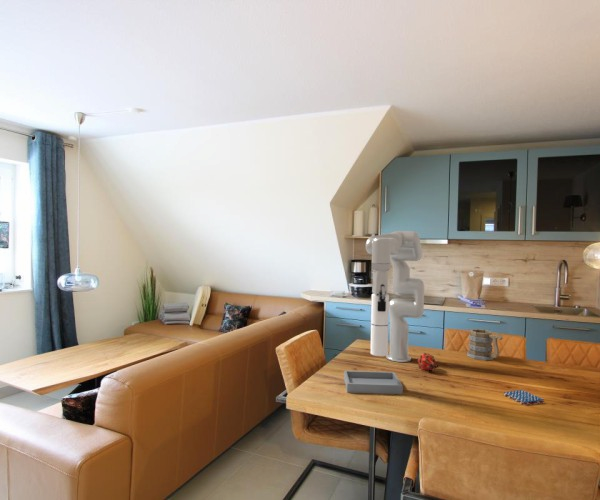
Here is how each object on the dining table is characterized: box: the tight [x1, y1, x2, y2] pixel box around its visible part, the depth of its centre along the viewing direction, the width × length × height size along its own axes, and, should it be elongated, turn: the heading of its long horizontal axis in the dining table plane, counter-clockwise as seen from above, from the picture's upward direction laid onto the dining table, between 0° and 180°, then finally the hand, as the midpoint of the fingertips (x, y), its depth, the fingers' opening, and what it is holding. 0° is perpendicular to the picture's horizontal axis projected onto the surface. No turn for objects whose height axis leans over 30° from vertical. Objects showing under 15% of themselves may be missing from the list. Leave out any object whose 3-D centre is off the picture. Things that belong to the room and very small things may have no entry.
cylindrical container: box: [370, 293, 390, 357], centre depth 161 cm, size 7×7×25 cm
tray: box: [343, 370, 404, 395], centre depth 162 cm, size 16×22×4 cm
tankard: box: [466, 328, 504, 361], centre depth 204 cm, size 20×13×15 cm, turn 17°
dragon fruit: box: [417, 352, 440, 373], centre depth 183 cm, size 8×8×12 cm
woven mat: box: [503, 389, 545, 406], centre depth 151 cm, size 10×11×2 cm
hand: (379, 309), depth 161 cm, fingers closed on cylindrical container, 7 cm apart
